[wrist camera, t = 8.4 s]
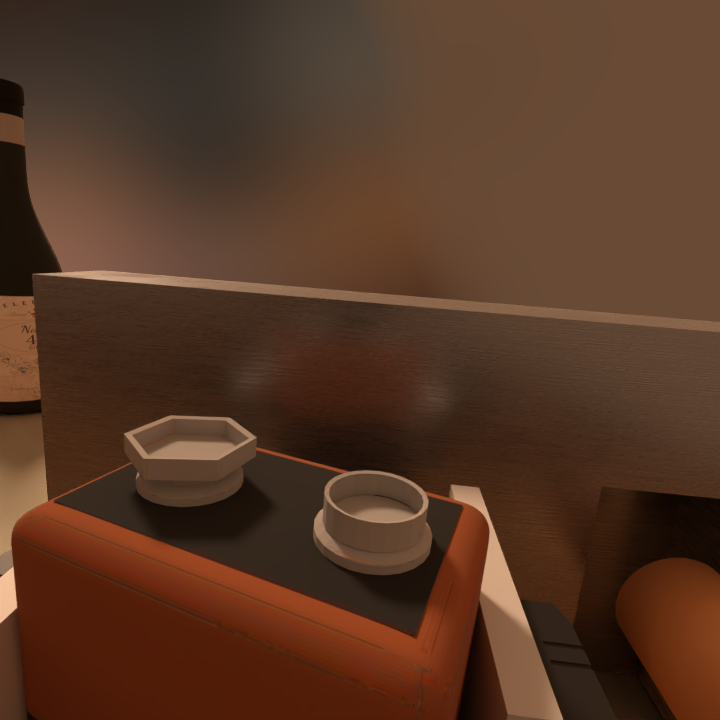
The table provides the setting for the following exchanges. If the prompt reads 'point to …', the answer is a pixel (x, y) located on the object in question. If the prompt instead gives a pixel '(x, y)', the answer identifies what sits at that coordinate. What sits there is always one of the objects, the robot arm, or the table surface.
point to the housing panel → (417, 412)
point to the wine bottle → (18, 262)
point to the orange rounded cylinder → (676, 632)
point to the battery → (245, 588)
